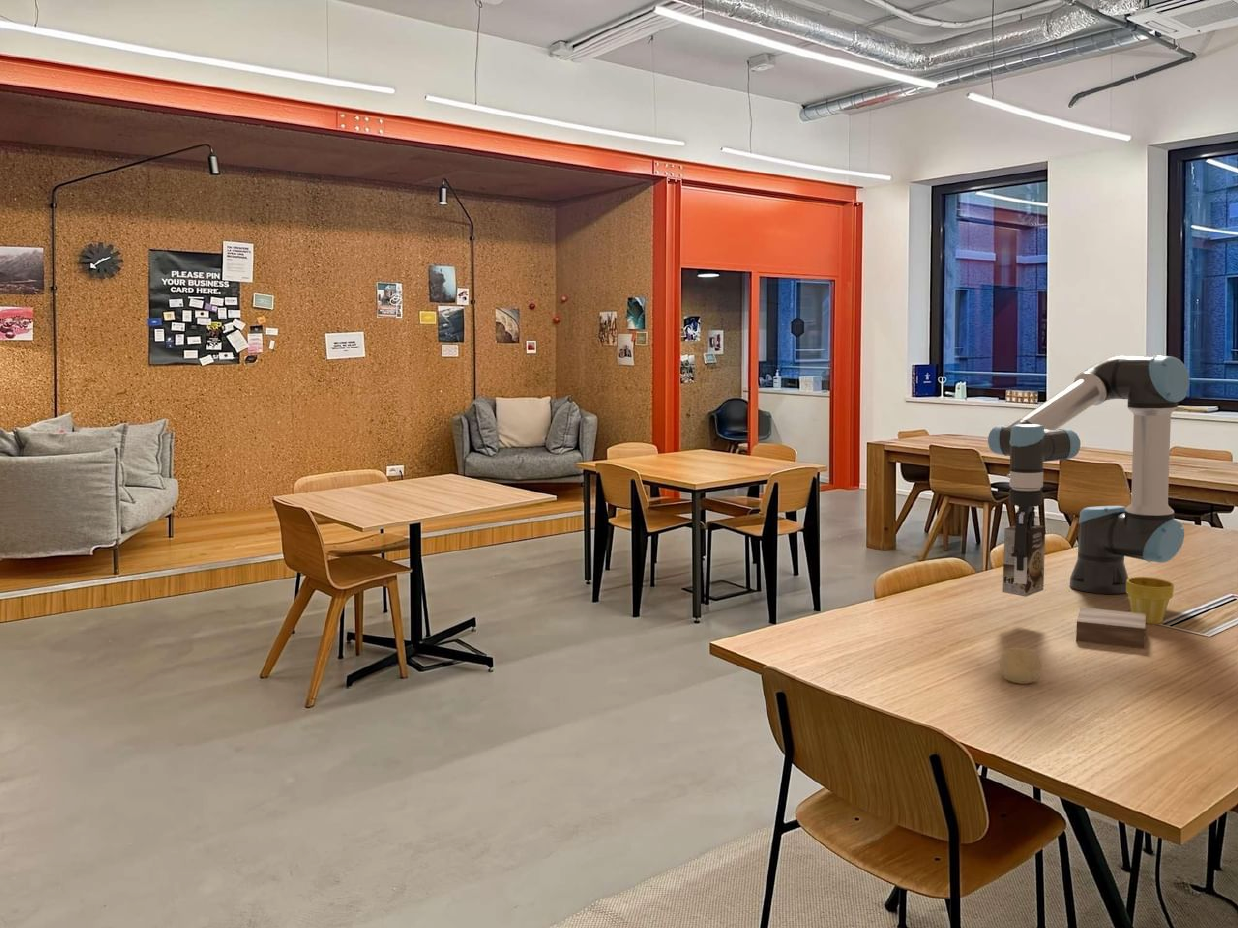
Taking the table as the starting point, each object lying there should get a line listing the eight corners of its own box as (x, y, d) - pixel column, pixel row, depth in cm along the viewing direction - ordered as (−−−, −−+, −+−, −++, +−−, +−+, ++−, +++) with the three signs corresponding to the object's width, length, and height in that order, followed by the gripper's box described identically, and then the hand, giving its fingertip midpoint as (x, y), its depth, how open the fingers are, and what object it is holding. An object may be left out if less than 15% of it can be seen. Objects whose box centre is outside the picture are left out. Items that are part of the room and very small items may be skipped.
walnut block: (1079, 626, 241) (1080, 606, 241) (1144, 634, 235) (1145, 613, 234) (1075, 642, 229) (1076, 621, 228) (1144, 650, 222) (1145, 628, 222)
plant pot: (1177, 627, 239) (1180, 587, 238) (1131, 625, 241) (1133, 585, 240) (1163, 615, 249) (1165, 577, 248) (1118, 613, 251) (1120, 576, 250)
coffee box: (1026, 597, 237) (1028, 531, 235) (1001, 592, 242) (1002, 527, 240) (1044, 590, 243) (1046, 525, 241) (1019, 585, 248) (1021, 522, 246)
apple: (1007, 686, 198) (994, 649, 201) (1007, 690, 205) (994, 654, 208) (1048, 676, 196) (1034, 639, 199) (1045, 681, 203) (1032, 644, 206)
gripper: (1016, 481, 251) (1014, 566, 254) (1001, 494, 232) (999, 587, 234) (1048, 482, 247) (1046, 569, 250) (1036, 496, 228) (1033, 590, 231)
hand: (1023, 578), depth 242 cm, fingers closed on coffee box, 10 cm apart
